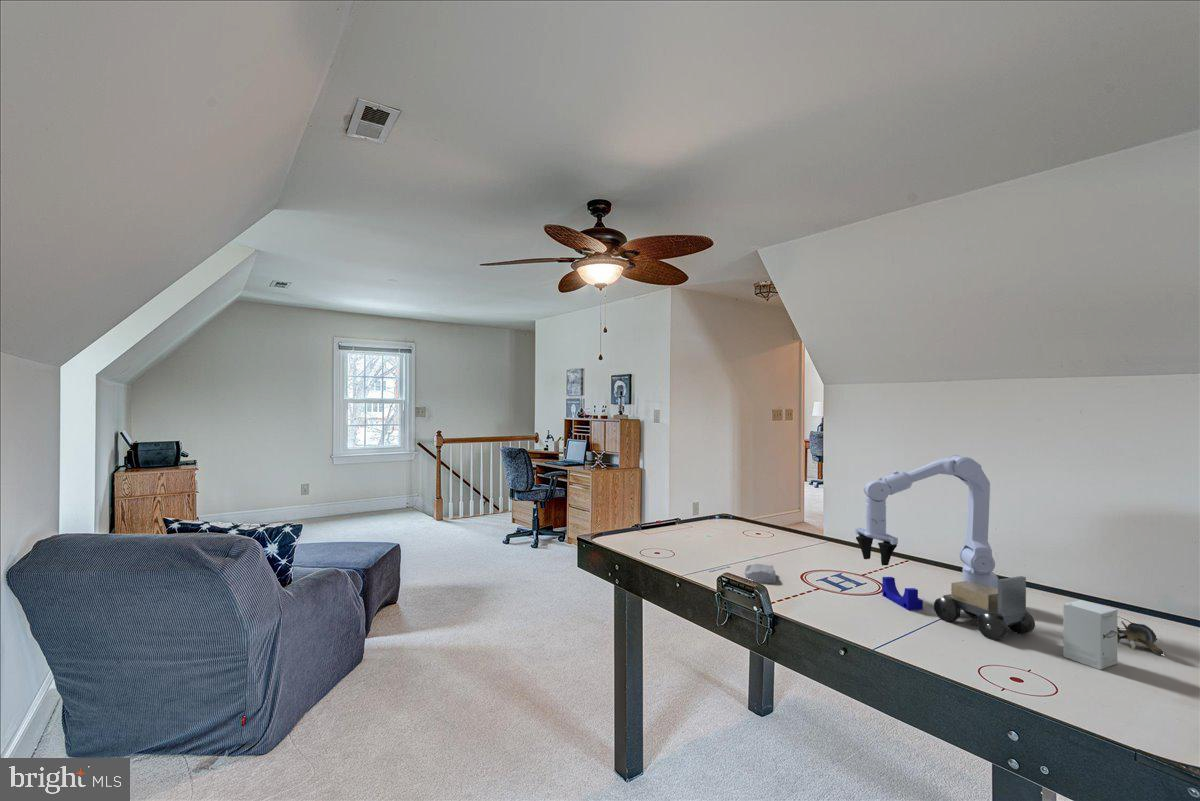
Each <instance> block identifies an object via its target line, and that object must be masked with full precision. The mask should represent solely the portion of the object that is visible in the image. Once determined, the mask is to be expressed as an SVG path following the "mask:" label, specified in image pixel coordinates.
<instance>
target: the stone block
mask: <svg viewBox="0 0 1200 801" xmlns="http://www.w3.org/2000/svg"><path fill="white" fill-rule="evenodd" d="M744 574H745V579H747V578H748V579H751V580H753V581H756V582H759V583H758V584H776V579H777V578H776V576H777V575H776V570H775V569H774V565H773V564H770V565H769V564H763V563H754V564H747V565H746V566H745V569H744ZM748 579H747V580H748ZM756 582H755V583H756Z"/></svg>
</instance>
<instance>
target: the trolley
mask: <svg viewBox="0 0 1200 801" xmlns="http://www.w3.org/2000/svg"><path fill="white" fill-rule="evenodd" d="M1026 579H1027V578H1026V576H1021V575H1020V576H1012V577H1007V578H1000V579H999V578H998V589H995V588H992V587H989V586H985V585H982V584H979V583H976V582H972V581H963V580H961V581H957V582H950V583H951V588H950V589H951V591H950V592H951V593H950V594H944V595H942V596H943V597H939V598H936V599H935V600H934V602H933V610H934V613H935V615H936V616H937V617H938V618H939V619H940V620H942V621H944V622H953V621H957V620H959V618H961V612H962V611H961V610H963V612H964V613H965V614H967V615H968V616H969V617H974V618H975V617H977V618H976V626H977V629H978V631H979V633H981V635H983V636H984V637H985V638H986V639H989V640H998V639H1002V638H1004V637H1006V636H1007V634H1008V630H1011V631H1012V632H1013V633H1015V634H1017V635H1024V634H1027V633H1031V632H1033V631H1034V630H1035V627H1036V622H1035V621H1036V620H1035V619H1034V617H1033V615H1032V614H1031V613H1030V612H1029V611H1028V610H1027V580H1026Z"/></svg>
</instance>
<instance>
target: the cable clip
mask: <svg viewBox="0 0 1200 801" xmlns="http://www.w3.org/2000/svg"><path fill="white" fill-rule="evenodd" d="M881 586H882V587H881V588H882V589H881V590H882V597H884V598H885V597H886V598H885V599H887V600H889V601H891V602H892V603H895V604H896V605H898V606H900V607H902V608H903V609H905V610H907V611H924V607H923V606H924V605H923V604H924V600H923V599H921V598H919V589H917V588H915V587H909V588H907V587H905V588H904V592H903V596H902V595H901V594H900V592H899V590H898V588H897V585H896V578H895V577H893V576H882V584H881Z"/></svg>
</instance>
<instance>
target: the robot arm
mask: <svg viewBox="0 0 1200 801" xmlns="http://www.w3.org/2000/svg"><path fill="white" fill-rule="evenodd" d="M939 474H940V475H941V474H942V475H948V476H953V477H956V478H958V479H960V481H961V482H963V483H964V484H965V485H966V486H968V504H967V525H966V526H967V528H966V538H965V539H964V541H963V543H962V544H963V545H962V548H961V549H960V551H959V559H960V561H961V562H962V563H963V565H962V581H972V582H976V583H979V584H982V585H985V586H989V587H992V588H995V589H998V579H999V576H997V574H996V573H995V572H994V570H995V568H996V561H995V559H994V557H993V550H992V548H991V545H990V543H989V525H990V524H989V520H990V500H991V499H990V498H991V496H990V495H991V483H990V480H989V478H988V476H987V475H986V474H985V472H984V470H983V469H982V465H981V464H980V463H979V462H977V461H975V459H973V458H971V457H969V456H968V457H967V456H966V457H965V456H960V455H959V454H958V455H957V454H953V455H949V456H948V457H942V458H939V459H937V460H934V461H932V462H930V463H926V464H924V465H923V466H920V467H918V468H916V469H913V470H911V471H908V472H906V471H905V472H904V471H903V470H900V471H898V470H895V471H892V474H889V475H887V476H883V477H881V476H880V477H877V480H870V481H868V482H867V483H866V484H865V486H864V488H863V492H864V494H865V496H866V500H865V502H866V503H865V528H863V527H857V528H855V535H858V536H856V537H855V539H856V541H857V543H858V545H859V548H860V550H861V553H862V557H863V560H870V559H871V554H872V545H873V540H878V541H881V542H877V545H878V547H879V552H880V564H881V566H889V564H890V560H891V557H892V554H893V552H894V551H895V549H896V548H897V546H898V544H899V540H898V537H896V536H893V535H890V534H888V533H887V505H886V504H887V501H886V500H887V498H888V497H889V496H892V495H894V494H899V493H901V492H903V491H906V490H908V489H911V487H912V485H913V483H915V482H918V481H922V480H924V479H927V478H931V477H933V476H937V475H939Z"/></svg>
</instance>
